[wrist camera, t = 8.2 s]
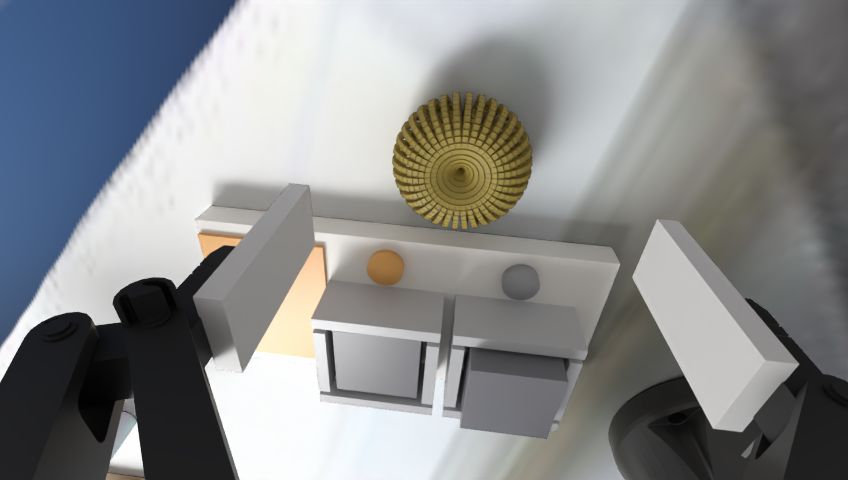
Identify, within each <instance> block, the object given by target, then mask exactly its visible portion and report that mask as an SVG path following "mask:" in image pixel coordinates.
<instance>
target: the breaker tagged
mask: <svg viewBox="0 0 848 480" xmlns="http://www.w3.org/2000/svg"><path fill="white" fill-rule="evenodd" d="M332 332H333V345H334V357H335V369H336V382H337V389H344V390H352V391H360V392H368V393H376V394H384V395H392V396H400V397H408V398H417V390H418V383H419V375H420V368H421V360H422V348H423V341H417V340H408V339H400V338H391V337H383V336H374V335H366V334H357V333H348V332H340V331H332Z"/></svg>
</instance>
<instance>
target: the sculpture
mask: <svg viewBox="0 0 848 480" xmlns="http://www.w3.org/2000/svg"><path fill="white" fill-rule="evenodd" d="M496 106H497V100H495V99H493V98H491V99H490V100H488V101H487V102H486V104H485V95H481V94H479V95H478V97H477V99H476V101H475V105H474V106H473V109H472V110H473V111H472V113H471V108H472V93H469V92H466V99H465V107H464V115H463V124H462V113H461V112H462V110H461V99H460V93H459V92H458V93H453V107H452V104H451V101H450V99H449V97H448V95H447V94H446V95H442V96H441V97H440V102H439V101H438V100H437V99H432V100H430V101H429V102H428V106H427V105H425V104H424V105H423V106H420V107H419V108H418V111H417V112H416V113H415V112H413V114H412V115H411V116H410V117H409V120H408V121H407V122H405V123H404V125H403V126H402V130H401V132H400V134H398V136H397V140H396V142H397V143H396V144H395V145H394V151H393V153H394V156H393V160H392V164H393V166H394V167H393V171H394V172H393V174H394V177H395V178H396V184H397V187H399V189H400V194H401V195H402V197H403V198H404V199H406V203H407V204H408V205H409V206H410V207H411V206H412V207H413V210H414V211H415V212H416V213H417V214H420V213H421V217H423V218H424V219H426V220H429V219H431V223H434V224H438V223H439V222H440V221H441V223H442V224H441V225H442V227H443V226H444V227H447V226H448V223H449V222H450V220H451V217H452V216H451V215H452V214H453V218H452V229H454V228H455V229H457V227H458V220H459V213H461V224H462V229H468V218H469V221H470V224H471V226H472V228H475V227H476V228H477V227H479V225H478V224H479V222H481V224H482V225H483V226H484V225H487V224H489V222H490V220H492V221H496V220H497V219H499V217H500V216H504V215H505V214H506V213H508V211H509V209H512V208H513V206H515V205H516V203H517V201H518V200H519V199H520V198H521V197H522V195H523V191H524V189H526V187H527V185H528V183H529V182H528V179H530V176H531V175H530V174H531V172H532V171H531V169H530V168H531V165H532V156H531V154H532V148H531V145H530V144H528V143H529V137H528V136H527V135H528V134H527V133H526V132H525V131H524V126H523V125H522V123H521V122H519V121H517V117H516V115H515V114H514V113H513V112H509V113H508V108H507V107H505V105H503V104H500V105H498V107H496ZM452 108H453V109H454V110H453V109H452ZM436 110H437V111H438V113H439V114H440V115H441V118H442V120H443V122H442V121H441V119H440V117H439V116H438V115H437V111H436ZM487 111H488V114H487ZM426 114H427V115H429V116H430V117H431V119H429V118H428V117H426ZM485 114H487V117H486V118H485V120H484V121H483V122H482V120H483V118H484V117H485ZM497 114H499V115H500V116H499V117H498V118H496V120H493V119H494V118H495V117H496V116H497ZM449 118H450V120H451V121H450V120H449ZM417 120H418V121H419V120H420V121H421V122H420V124H419V123H418V122H416V121H417ZM505 120H506V121H508V120H509V121H508V123H507V124H506V123H505V124H504V122H505ZM450 122H451V123H450ZM481 122H482V124H481ZM480 124H481V125H480ZM451 125H452V126H451ZM453 128H454V129H453ZM471 128H472V129H471ZM409 129H412V130H409ZM513 129H517V130H515V131H513ZM420 130H421V131H420ZM422 131H423V132H424V133H426V134H424V133H422ZM434 131H435V132H436V133H435V132H434ZM490 131H491V132H490ZM488 132H490V133H488ZM500 132H501V134H500V135H498V134H499V133H500ZM469 133H470V134H469ZM435 135H436V136H435ZM496 135H497V137H496ZM404 138H406V140H403V139H404ZM415 138H417V139H419V140H415ZM484 138H485V139H484ZM510 138H511V139H510ZM519 138H520V139H521V138H522V139H521V140H519ZM505 139H509V140H505ZM492 141H493V142H492ZM430 142H431V143H430ZM409 146H411V147H412V148H409ZM515 146H516V147H515ZM423 147H424V148H423ZM512 147H515V148H513V149H512ZM400 149H401V150H402V151H401V150H400ZM523 149H524V151H523ZM408 155H409V157H407V156H408ZM516 156H518V158H517V157H516ZM515 157H516V158H515ZM417 161H418V162H417ZM525 161H526V162H525ZM524 162H525V163H524ZM405 165H407V166H409V167H407V166H405ZM516 166H518V167H516ZM515 167H516V168H515ZM418 169H419V170H418ZM506 170H507V171H506ZM523 172H524V173H523ZM408 175H410V176H411V177H410V176H408ZM513 176H516V177H513ZM413 183H416V184H413ZM520 183H521V184H520ZM411 184H412V185H411ZM510 184H511V185H510ZM508 185H509V186H508ZM418 190H419V191H418ZM420 190H421V191H420ZM408 191H409V192H408ZM502 191H503V192H504V193H503V192H502ZM453 192H454V193H453ZM514 192H516V194H515V193H514ZM415 198H416V199H415ZM453 198H454V199H453ZM413 199H414V200H413ZM460 199H461V200H460ZM478 199H479V200H478ZM424 203H425V204H424ZM423 204H424V205H423ZM421 205H422V206H421ZM419 206H420V207H419ZM498 206H499V207H498ZM431 207H433V208H432V209H431ZM471 207H472V208H471ZM500 207H501V208H500ZM430 209H431V210H430ZM489 209H490V210H491V211H492V212H493V213H492V212H491V211H490V210H489ZM439 210H440V212H438V211H439ZM480 210H481V211H482V213H483V214H482V213H481V211H480ZM468 216H469V217H468ZM441 219H442V220H441Z"/></svg>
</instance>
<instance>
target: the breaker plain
mask: <svg viewBox="0 0 848 480" xmlns="http://www.w3.org/2000/svg"><path fill="white" fill-rule="evenodd" d="M567 385H568V378H567V374H566V370H565V366H564V362H563V358H562V357H554V356H545V355H537V354H528V353H520V352H511V351H502V350H494V349H485V348H477V347H468V349H467V354H466V360H465V366H464V372H463V378H462V384H461V419H460V428H465V429H473V430H481V431H489V432H497V433H505V434H513V435H521V436H529V437H536V438H544V439H547V437H548V434H549V432H550V429H551V426H552V424H553V421H554V419H555V416H556V413H557V411H558V408H559V405H560V403H561V400H562V398H563V395H564V392H565V390H566V387H567Z"/></svg>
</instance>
